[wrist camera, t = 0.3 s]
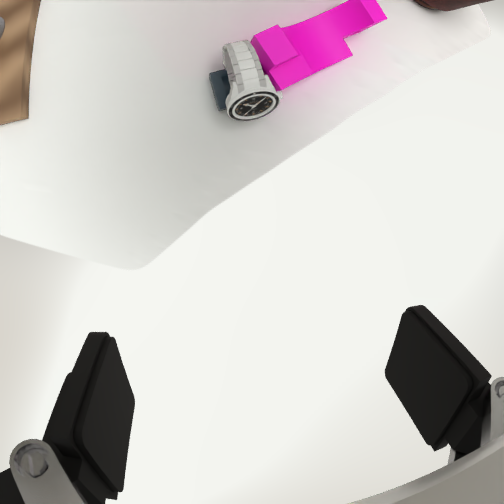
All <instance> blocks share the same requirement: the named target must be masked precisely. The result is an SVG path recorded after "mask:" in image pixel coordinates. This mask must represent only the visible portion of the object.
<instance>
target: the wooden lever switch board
mask: <svg viewBox="0 0 504 504" xmlns="http://www.w3.org/2000/svg"><path fill="white" fill-rule="evenodd" d="M40 1H41V0H0V125H3V124H7V123H10V122H14V121H18V120H23V119H27V118H28V106H29V82H30V69H31V58H32V49H33V41H34V34H35V28H36V22H37V16H38V11H39V6H40Z"/></svg>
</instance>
